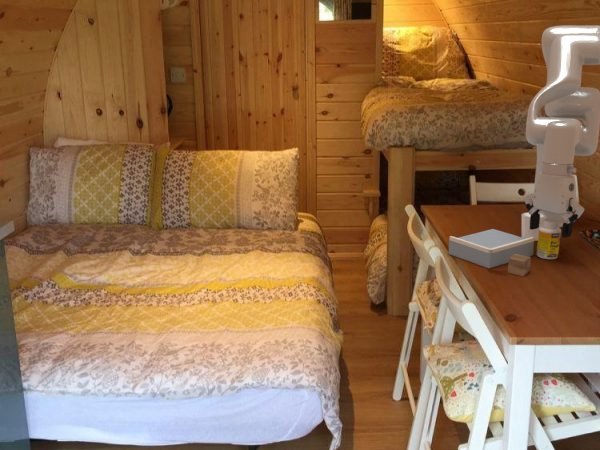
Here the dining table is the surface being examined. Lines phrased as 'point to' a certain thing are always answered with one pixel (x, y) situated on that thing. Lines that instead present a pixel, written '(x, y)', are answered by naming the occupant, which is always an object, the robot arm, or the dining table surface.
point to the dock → (490, 247)
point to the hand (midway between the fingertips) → (549, 232)
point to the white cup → (526, 226)
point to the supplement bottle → (548, 239)
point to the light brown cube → (519, 265)
